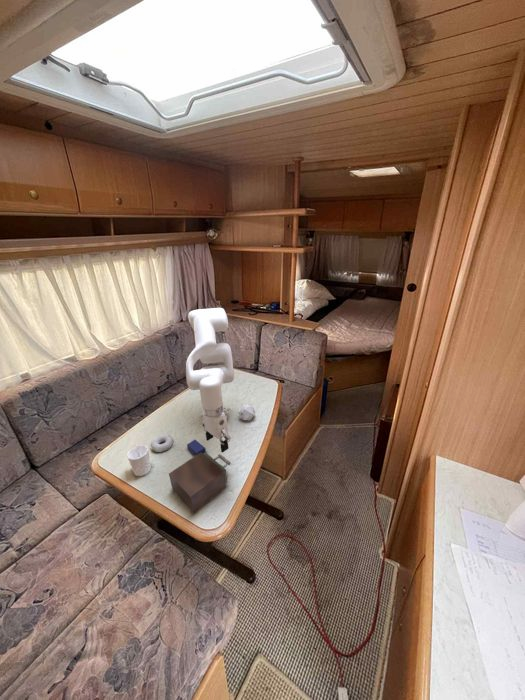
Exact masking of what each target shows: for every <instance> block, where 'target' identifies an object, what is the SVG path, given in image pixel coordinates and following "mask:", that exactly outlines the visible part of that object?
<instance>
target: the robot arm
mask: <svg viewBox="0 0 525 700" xmlns="http://www.w3.org/2000/svg"><path fill="white" fill-rule="evenodd" d="M187 318H188V321H189V324H190V327H191V329H192V330H193V332H194V343H195V347H194V348H193V349H192V350H191V351H190V353H189V355H188V357H187V359H186V361H185V378H186V385H187V387H188V389H189V390H191V391H199V394H200V400H201V407H202V418H201V423H202V427H203V428H204V429H203V431H204V433H205V440H206V441H207V442H209V441H210V440H212V439H214V438H215V439H217V440H219V442H220V444H219V445H220V452H221V453H222V454H223V453H225V452H226V451H228V450H229V442H230V441H231V436H230V434H229V427H228V422H227V420H228V415H227V412H230V411H231V409H232V408H231V406H228V407H226V406H224V401H223V392H222V387H223V384H230V383H233V382H234V380H235V369H234V361H233V360H234V359H233V353H232V348H231V346H230V344H229V343H227V342H220V343H219V342H218V343H217V337H216V333H219V332H226V331H227V330H228V328H229V320H228V315H227V313H226V311H225V309H224V308H223V307H214V308H212V307H211V308H199V309H193V310H190V311H189V312H188V314H187ZM197 361H200V362H201V364H204V365H205V364H206V365H207V364H217V363H222V364H217V365H208V366H203V367H202V368H200V369H195V370H194V366H195V364H196V363H197ZM223 438H224V439H223Z"/></svg>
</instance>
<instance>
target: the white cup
mask: <svg viewBox="0 0 525 700" xmlns="http://www.w3.org/2000/svg"><path fill="white" fill-rule="evenodd" d="M126 457H127V459H128V462H129V464H130V467H131V470H132V472H133V474H134V475H135V476H137V477H143V476H145V475H147V474H148V473H149V472H150V471H151V467H152V466H151V459H150V454H149V449H148V446H146V445H143V444H141V445H136V446H134V447H132V448H130V449H129V451H128V452H127V455H126Z"/></svg>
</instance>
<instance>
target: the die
mask: <svg viewBox="0 0 525 700" xmlns="http://www.w3.org/2000/svg"><path fill="white" fill-rule="evenodd" d="M255 413H256V410H255V408H254V406H253V404H249V403H242V404H241V405H240V407H239V410H238V411H237V415H238V416H239V418H240V420H242V421H252V420H253V417H254V415H255Z"/></svg>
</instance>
